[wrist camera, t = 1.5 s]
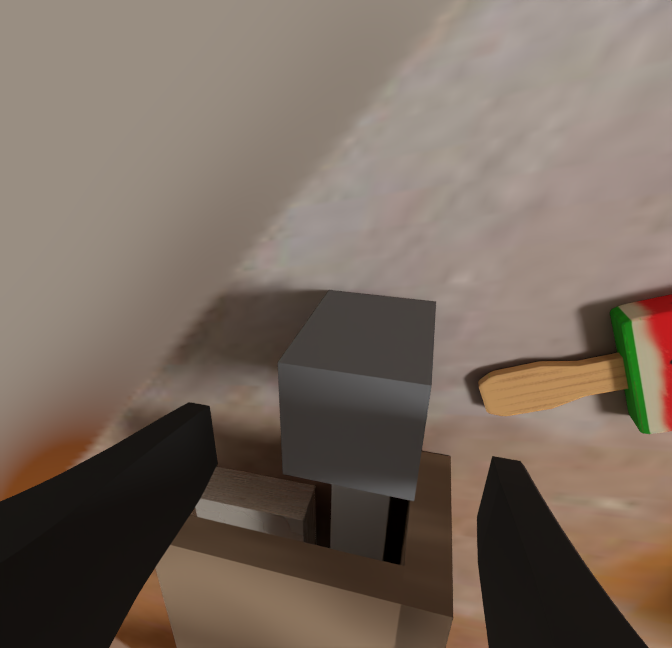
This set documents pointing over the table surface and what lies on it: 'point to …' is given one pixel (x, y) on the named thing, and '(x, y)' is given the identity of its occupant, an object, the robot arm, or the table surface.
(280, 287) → the table surface
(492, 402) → the popsicle
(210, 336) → the table surface
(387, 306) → the hammer
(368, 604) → the wooden corner piece
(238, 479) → the block
